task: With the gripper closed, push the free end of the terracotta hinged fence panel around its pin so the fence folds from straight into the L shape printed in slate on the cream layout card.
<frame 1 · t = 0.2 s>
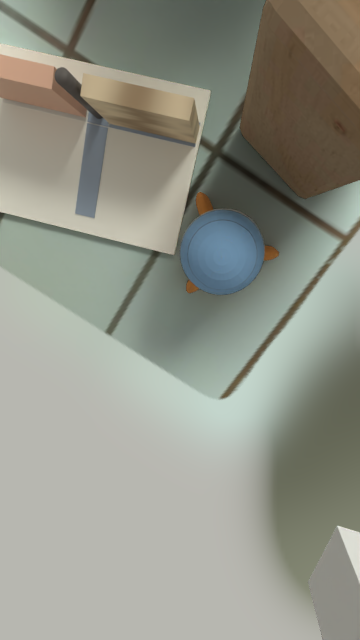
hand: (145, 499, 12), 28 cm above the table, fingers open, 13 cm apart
hinged fence panel: (24, 84, 30), point 4 cm above the table, hinge at 0.0°
fixed fence panel: (101, 114, 34), resting on layout card
layout card: (91, 155, 35), on the table
toy rocket: (231, 249, 36), on the table
wooden block: (307, 127, 32), on the table
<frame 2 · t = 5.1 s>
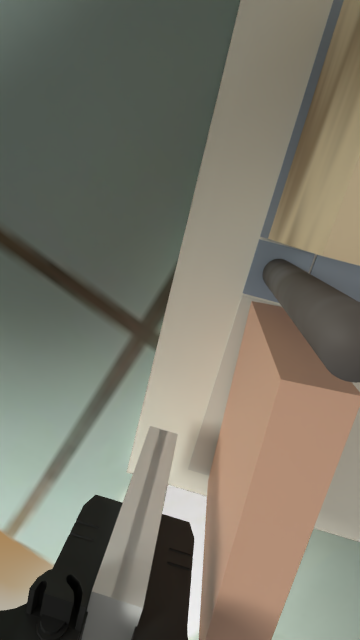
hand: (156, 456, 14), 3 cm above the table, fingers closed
hinged fence panel: (252, 456, 11), point 4 cm above the table, hinge at 4.2°, touching gripper
fixed fence panel: (275, 271, 14), resting on layout card
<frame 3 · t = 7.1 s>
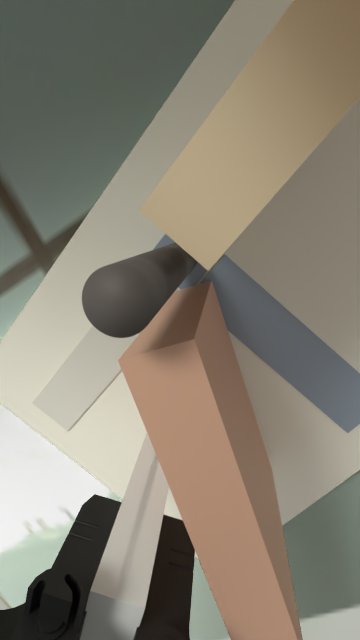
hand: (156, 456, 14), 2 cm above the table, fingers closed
hinged fence panel: (224, 436, 11), point 4 cm above the table, hinge at 59.0°, touching gripper
fixed fence panel: (185, 254, 14), resting on layout card
layout card: (248, 325, 14), on the table
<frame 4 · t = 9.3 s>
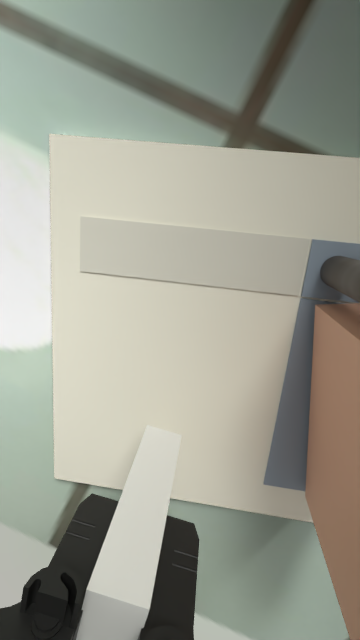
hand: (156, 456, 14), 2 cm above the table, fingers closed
fixed fence panel: (330, 269, 13), resting on layout card
layout card: (298, 359, 14), on the table
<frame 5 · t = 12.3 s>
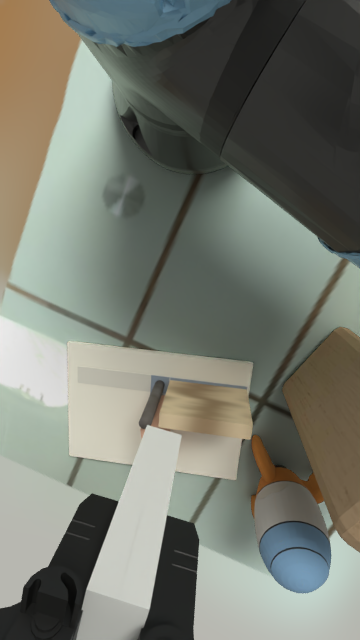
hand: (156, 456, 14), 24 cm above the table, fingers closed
hinged fence panel: (158, 446, 37), point 5 cm above the table, hinge at 98.7°
fixed fence panel: (160, 382, 40), resting on layout card
layout card: (154, 410, 41), on the table
toy rocket: (285, 469, 42), on the table
wooden block: (340, 379, 38), on the table
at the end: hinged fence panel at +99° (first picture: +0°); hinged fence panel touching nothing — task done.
